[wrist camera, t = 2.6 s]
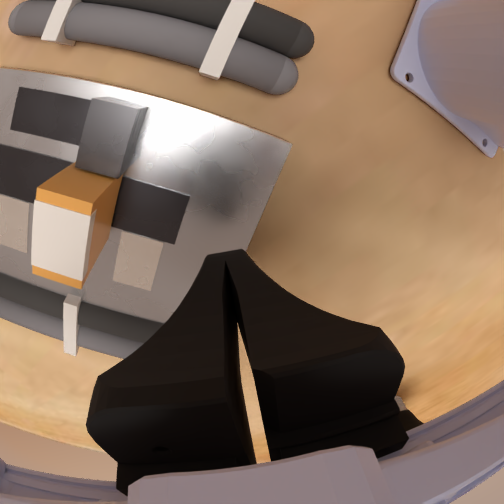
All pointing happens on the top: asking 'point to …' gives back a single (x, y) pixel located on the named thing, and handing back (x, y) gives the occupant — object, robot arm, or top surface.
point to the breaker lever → (72, 224)
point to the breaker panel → (132, 183)
